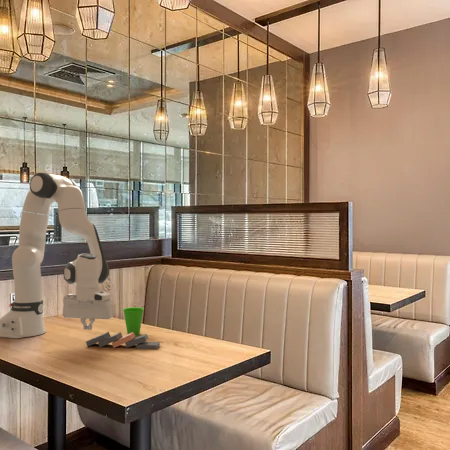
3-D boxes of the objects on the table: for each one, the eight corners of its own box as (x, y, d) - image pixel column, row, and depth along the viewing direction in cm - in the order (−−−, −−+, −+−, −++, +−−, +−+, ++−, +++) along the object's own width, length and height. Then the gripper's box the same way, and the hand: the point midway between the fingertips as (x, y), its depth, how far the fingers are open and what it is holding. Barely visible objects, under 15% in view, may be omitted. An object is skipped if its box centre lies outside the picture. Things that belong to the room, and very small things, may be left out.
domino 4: (124, 342, 176) (144, 336, 176) (127, 339, 181) (146, 333, 181) (126, 347, 176) (146, 341, 176) (129, 344, 181) (148, 338, 181)
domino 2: (98, 342, 178) (115, 335, 176) (103, 339, 183) (120, 332, 181) (100, 347, 178) (117, 339, 176) (105, 344, 182) (122, 336, 181)
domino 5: (136, 344, 176) (156, 345, 175) (139, 341, 181) (159, 341, 180) (136, 350, 176) (156, 350, 175) (139, 346, 181) (159, 347, 180)
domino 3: (111, 343, 176) (130, 334, 176) (115, 340, 181) (133, 331, 181) (113, 348, 176) (132, 339, 176) (117, 344, 181) (135, 336, 181)
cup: (146, 332, 202) (146, 307, 202) (140, 337, 193) (140, 311, 193) (126, 331, 203) (126, 307, 203) (120, 336, 194) (120, 311, 194)
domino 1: (85, 341, 179) (103, 334, 177) (91, 338, 184) (108, 331, 182) (87, 346, 179) (105, 339, 177) (93, 343, 184) (110, 336, 182)
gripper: (59, 295, 180) (59, 330, 180) (108, 296, 176) (108, 332, 176) (67, 292, 186) (67, 326, 186) (114, 294, 183) (114, 328, 183)
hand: (87, 329), depth 181 cm, fingers closed
